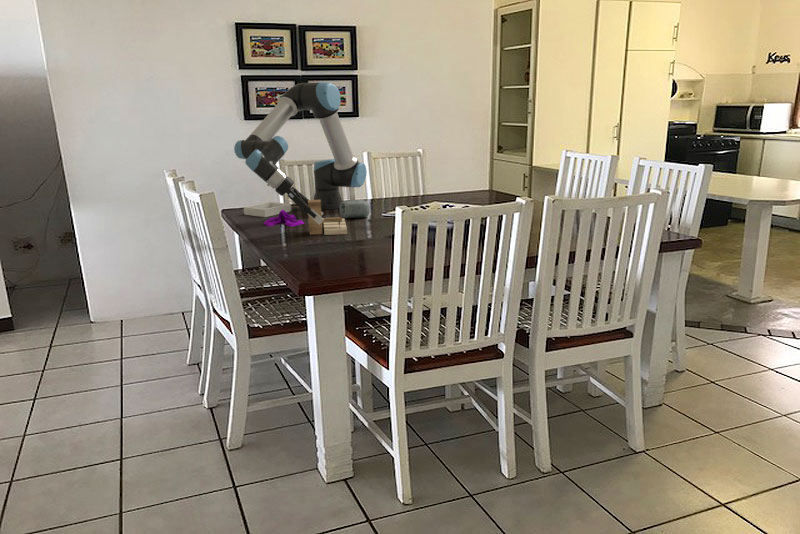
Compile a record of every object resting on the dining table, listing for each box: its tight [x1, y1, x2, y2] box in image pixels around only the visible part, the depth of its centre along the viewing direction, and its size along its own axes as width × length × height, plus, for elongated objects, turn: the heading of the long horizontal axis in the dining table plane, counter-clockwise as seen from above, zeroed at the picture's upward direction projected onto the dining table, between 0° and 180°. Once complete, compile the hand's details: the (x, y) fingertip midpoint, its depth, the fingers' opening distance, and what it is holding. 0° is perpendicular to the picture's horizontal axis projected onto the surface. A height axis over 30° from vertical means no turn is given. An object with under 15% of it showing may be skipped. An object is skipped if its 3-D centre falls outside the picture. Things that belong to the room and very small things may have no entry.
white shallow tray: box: [243, 201, 292, 218], centre depth 298 cm, size 17×14×4 cm
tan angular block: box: [308, 199, 343, 235], centre depth 252 cm, size 5×13×13 cm, turn 98°
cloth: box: [263, 210, 305, 228], centre depth 276 cm, size 22×19×6 cm
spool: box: [339, 199, 371, 220], centre depth 282 cm, size 14×10×10 cm
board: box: [323, 218, 348, 236], centre depth 260 cm, size 22×9×2 cm, turn 8°
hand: (321, 219), depth 252 cm, fingers open, 12 cm apart
